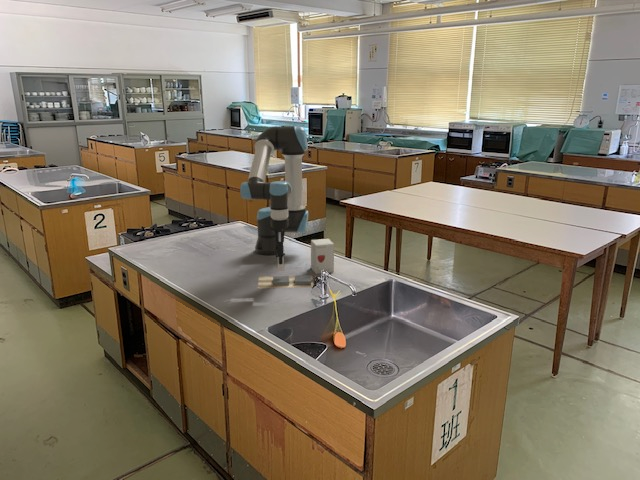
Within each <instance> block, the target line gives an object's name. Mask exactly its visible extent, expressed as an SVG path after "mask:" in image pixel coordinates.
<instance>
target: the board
mask: <svg viewBox="0 0 640 480" xmlns="http://www.w3.org/2000/svg"><path fill="white" fill-rule="evenodd" d="M303 275H304V274H303ZM303 275H301V274H300V276H303ZM273 276H274V275H273ZM273 276H272V275H270V276H267V275H266V276H264V275H263V276H259V277H258V282H257V289H292V288H314V287H313V285H314V278H313V275H312V274H311V284H306V285H295V276H296V275H288V276H289V285H274V286H273Z"/></svg>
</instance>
